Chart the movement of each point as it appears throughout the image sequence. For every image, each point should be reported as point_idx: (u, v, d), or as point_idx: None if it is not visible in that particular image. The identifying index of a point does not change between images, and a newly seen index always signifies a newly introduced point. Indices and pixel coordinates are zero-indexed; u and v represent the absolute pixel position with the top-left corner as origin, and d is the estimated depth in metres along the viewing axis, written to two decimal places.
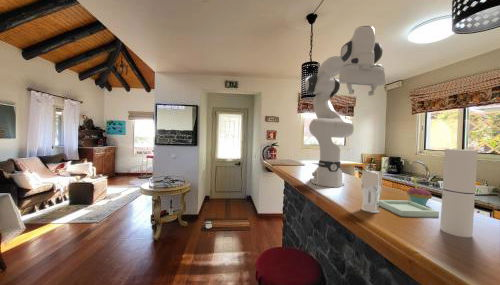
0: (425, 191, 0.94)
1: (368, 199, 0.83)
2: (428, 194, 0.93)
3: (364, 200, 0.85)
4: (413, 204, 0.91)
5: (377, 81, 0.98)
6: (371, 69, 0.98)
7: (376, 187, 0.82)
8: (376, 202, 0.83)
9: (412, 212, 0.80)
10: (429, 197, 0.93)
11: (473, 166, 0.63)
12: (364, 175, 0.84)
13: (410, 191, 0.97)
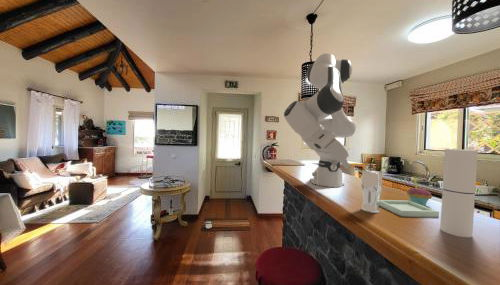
0: (425, 191, 0.94)
1: (368, 199, 0.83)
2: (428, 194, 0.93)
3: (364, 200, 0.85)
4: (413, 204, 0.91)
5: None
6: None
7: (376, 187, 0.82)
8: (376, 202, 0.83)
9: (412, 212, 0.80)
10: (429, 197, 0.93)
11: (473, 166, 0.63)
12: (364, 175, 0.84)
13: (410, 191, 0.97)
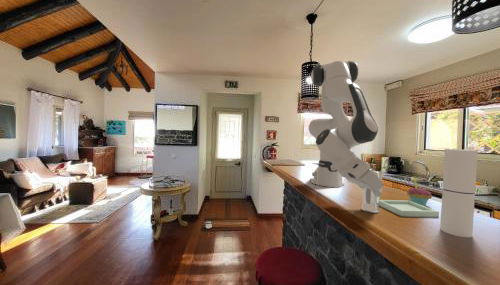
0: (425, 191, 0.94)
1: (368, 199, 0.83)
2: (428, 194, 0.93)
3: (364, 200, 0.85)
4: (413, 204, 0.91)
5: None
6: None
7: None
8: (376, 202, 0.83)
9: (412, 212, 0.80)
10: (429, 197, 0.93)
11: (473, 166, 0.63)
12: None
13: (410, 191, 0.97)
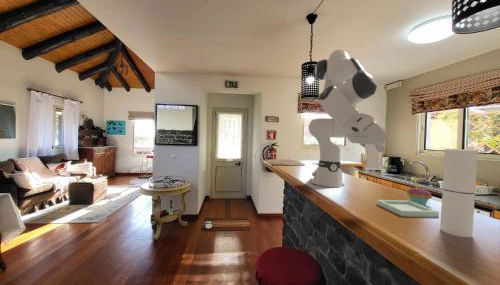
0: (425, 191, 0.94)
1: (372, 156, 0.83)
2: (428, 194, 0.93)
3: (368, 158, 0.84)
4: (413, 204, 0.91)
5: None
6: None
7: None
8: (380, 158, 0.82)
9: (412, 212, 0.80)
10: (429, 197, 0.93)
11: (473, 166, 0.63)
12: None
13: (410, 191, 0.97)
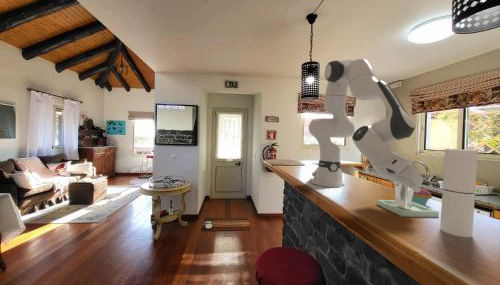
0: (425, 191, 0.94)
1: (402, 196, 0.86)
2: (428, 194, 0.93)
3: (397, 197, 0.88)
4: (413, 204, 0.91)
5: None
6: None
7: None
8: (409, 199, 0.86)
9: (412, 212, 0.80)
10: (429, 197, 0.93)
11: (473, 166, 0.63)
12: None
13: None
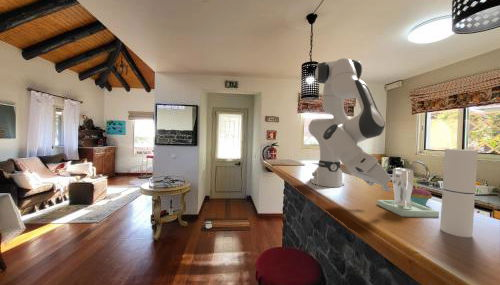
0: (425, 191, 0.94)
1: (400, 196, 0.86)
2: (428, 194, 0.93)
3: (396, 197, 0.88)
4: (413, 204, 0.91)
5: None
6: None
7: (408, 185, 0.84)
8: (408, 199, 0.86)
9: (412, 212, 0.80)
10: (429, 197, 0.93)
11: (474, 166, 0.63)
12: (395, 173, 0.87)
13: None
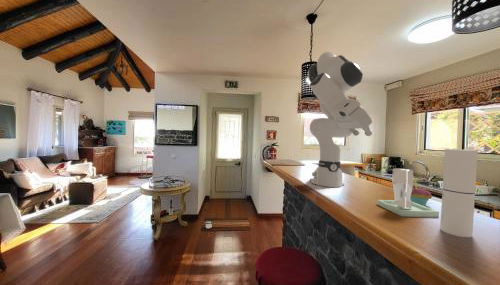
0: (425, 191, 0.94)
1: (400, 196, 0.87)
2: (428, 194, 0.93)
3: (396, 197, 0.88)
4: (413, 204, 0.91)
5: None
6: None
7: (408, 184, 0.85)
8: (408, 199, 0.86)
9: (412, 212, 0.80)
10: (429, 197, 0.93)
11: (473, 166, 0.63)
12: (395, 173, 0.88)
13: None
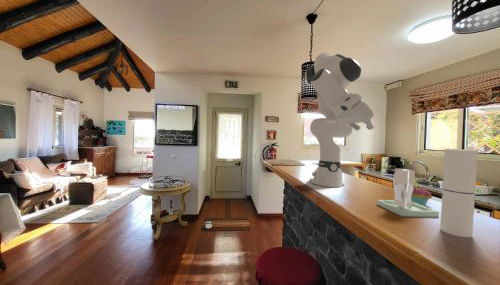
0: (425, 191, 0.94)
1: (400, 196, 0.87)
2: (428, 194, 0.93)
3: (396, 197, 0.88)
4: (413, 204, 0.91)
5: None
6: None
7: (409, 185, 0.85)
8: (409, 199, 0.86)
9: (412, 212, 0.80)
10: (429, 197, 0.93)
11: (473, 166, 0.63)
12: (397, 173, 0.88)
13: None
